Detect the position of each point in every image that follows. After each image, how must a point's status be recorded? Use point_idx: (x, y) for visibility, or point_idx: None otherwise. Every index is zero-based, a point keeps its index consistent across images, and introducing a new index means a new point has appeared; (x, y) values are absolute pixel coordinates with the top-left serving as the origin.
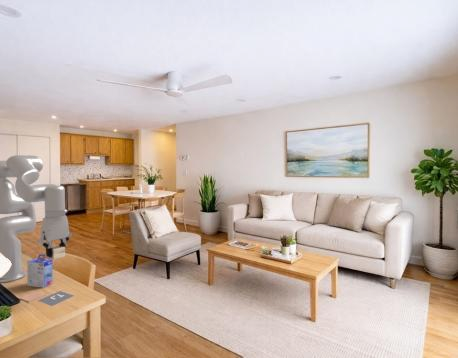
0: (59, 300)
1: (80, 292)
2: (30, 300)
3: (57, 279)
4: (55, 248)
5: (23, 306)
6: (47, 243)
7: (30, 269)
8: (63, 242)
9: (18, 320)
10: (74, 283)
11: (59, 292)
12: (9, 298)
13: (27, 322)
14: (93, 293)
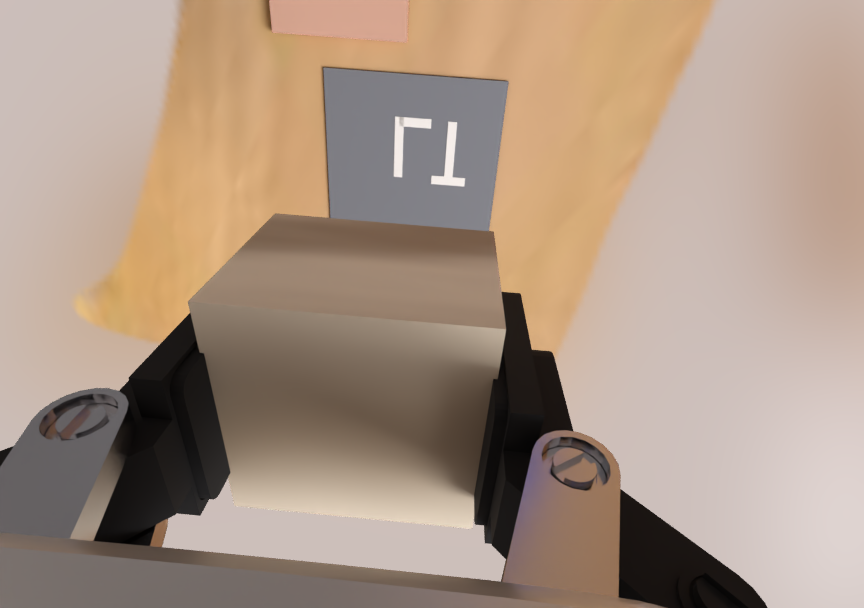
0: (398, 218)
1: (541, 246)
2: (285, 25)
3: None
4: (314, 455)
5: (226, 53)
6: (65, 508)
7: None
8: (504, 570)
9: (147, 208)
10: (674, 55)
11: (486, 102)
12: None
13: (173, 270)
14: (554, 328)
